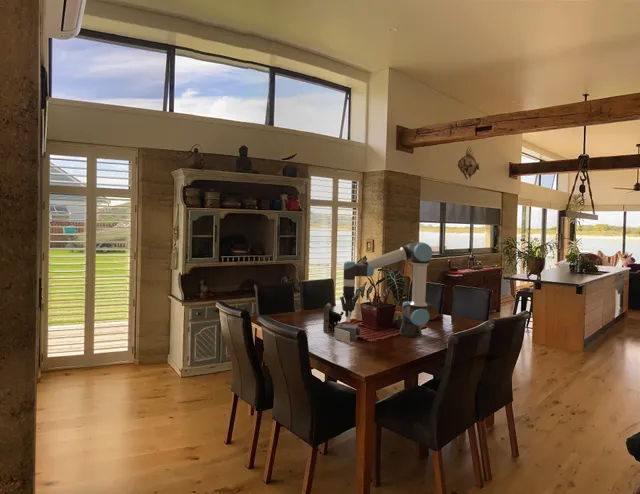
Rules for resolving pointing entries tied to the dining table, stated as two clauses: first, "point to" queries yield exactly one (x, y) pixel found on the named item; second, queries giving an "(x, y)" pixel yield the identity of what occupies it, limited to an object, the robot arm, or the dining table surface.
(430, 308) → the bread
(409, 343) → the dining table surface
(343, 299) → the robot arm
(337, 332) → the side door
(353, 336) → the cabinet with round knob
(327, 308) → the vintage camera
